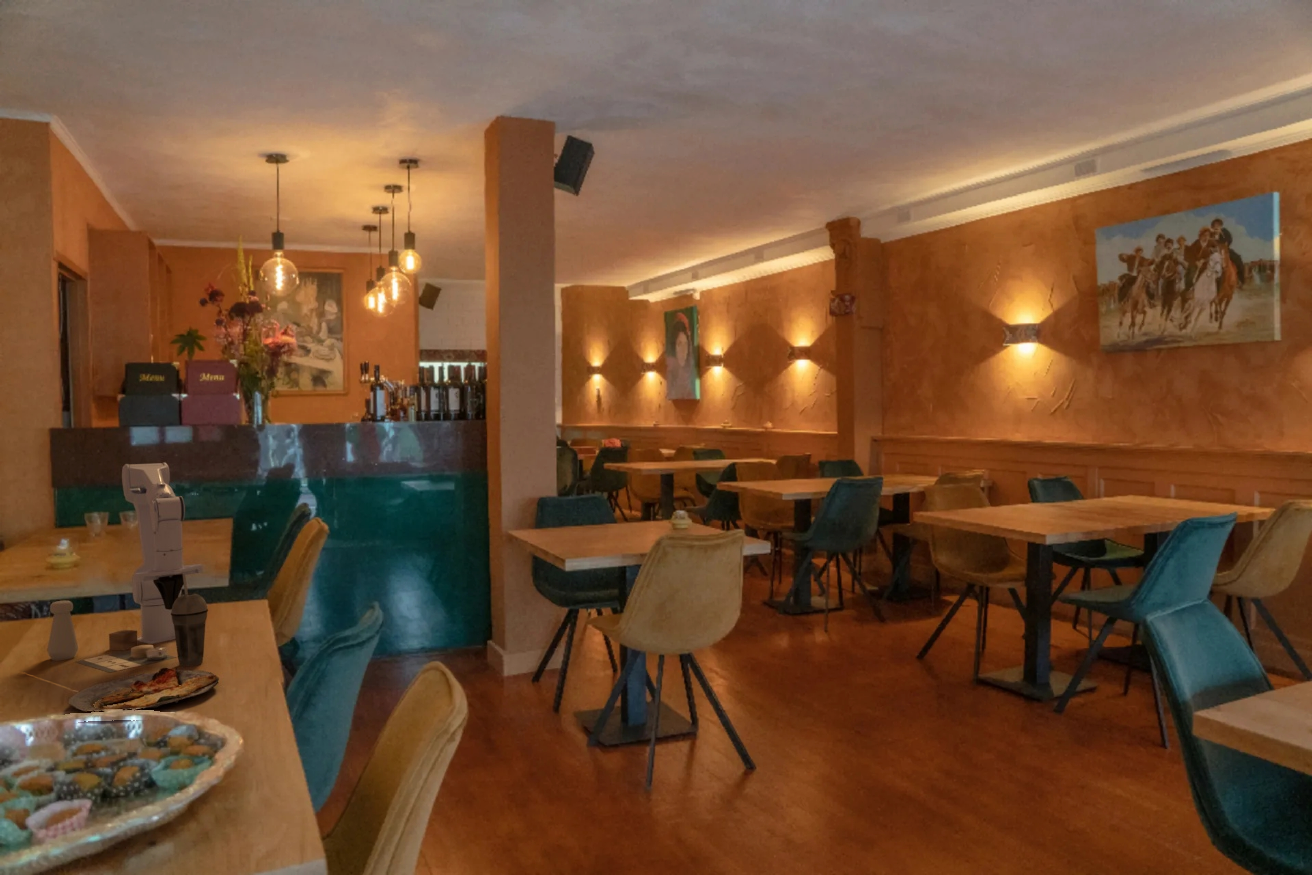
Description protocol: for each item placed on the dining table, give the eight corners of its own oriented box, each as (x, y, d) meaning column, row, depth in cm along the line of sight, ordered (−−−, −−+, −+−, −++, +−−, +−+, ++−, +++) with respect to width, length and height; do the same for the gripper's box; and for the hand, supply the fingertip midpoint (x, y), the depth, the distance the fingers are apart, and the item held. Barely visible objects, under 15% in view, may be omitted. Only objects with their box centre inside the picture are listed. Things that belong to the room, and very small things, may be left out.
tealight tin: (158, 655, 206) (158, 646, 205) (171, 656, 204) (170, 647, 204) (142, 660, 202) (142, 650, 202) (155, 661, 200) (154, 651, 200)
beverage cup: (217, 661, 201) (214, 570, 200) (190, 670, 194) (187, 576, 193) (191, 659, 203) (188, 569, 203) (164, 668, 196) (161, 575, 196)
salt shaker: (63, 663, 202) (61, 604, 201) (41, 662, 203) (39, 603, 203) (84, 656, 207) (82, 599, 207) (63, 655, 209) (61, 598, 208)
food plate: (187, 672, 192) (186, 655, 192) (241, 693, 178) (240, 675, 178) (51, 706, 173) (50, 687, 173) (99, 733, 158) (97, 713, 158)
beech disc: (147, 652, 209) (147, 643, 209) (157, 655, 206) (157, 646, 206) (127, 656, 205) (127, 647, 205) (137, 659, 203) (136, 650, 203)
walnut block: (123, 646, 216) (123, 629, 216) (137, 647, 215) (137, 630, 215) (109, 650, 212) (109, 633, 212) (123, 651, 211) (123, 634, 211)
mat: (141, 649, 213) (141, 647, 213) (176, 658, 204) (176, 656, 204) (75, 663, 202) (75, 661, 202) (109, 673, 192) (109, 671, 192)
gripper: (144, 555, 202) (146, 616, 202) (208, 546, 214) (210, 604, 214) (129, 553, 206) (131, 613, 207) (192, 544, 218) (194, 601, 218)
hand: (170, 608), depth 211 cm, fingers closed
